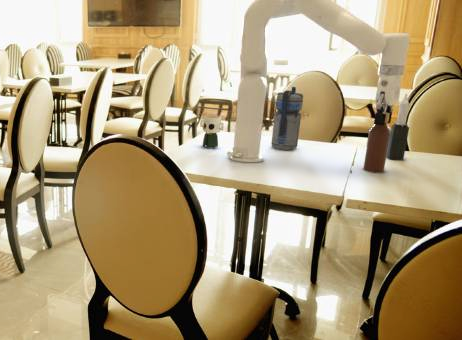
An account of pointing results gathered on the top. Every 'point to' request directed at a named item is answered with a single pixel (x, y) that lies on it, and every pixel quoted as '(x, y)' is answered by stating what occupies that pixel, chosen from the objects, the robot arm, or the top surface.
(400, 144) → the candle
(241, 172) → the top surface
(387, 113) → the cap
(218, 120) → the toy figurine
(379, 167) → the sauce bottle
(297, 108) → the beverage bottle
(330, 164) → the top surface
